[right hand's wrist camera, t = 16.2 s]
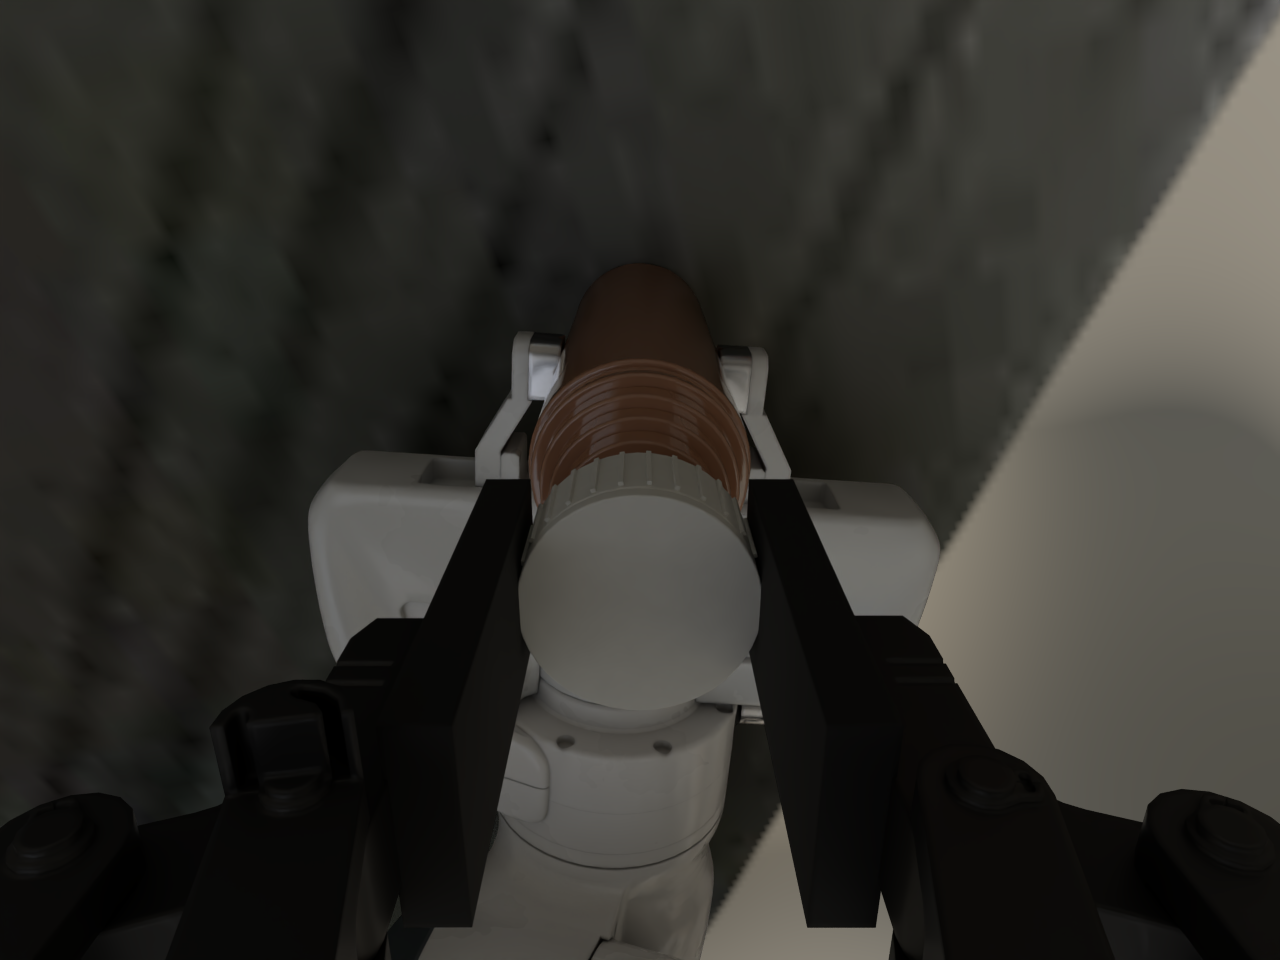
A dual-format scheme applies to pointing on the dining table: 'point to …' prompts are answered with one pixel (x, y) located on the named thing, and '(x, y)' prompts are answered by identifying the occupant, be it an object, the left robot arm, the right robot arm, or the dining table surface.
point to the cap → (639, 583)
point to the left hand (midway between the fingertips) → (640, 342)
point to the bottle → (639, 385)
